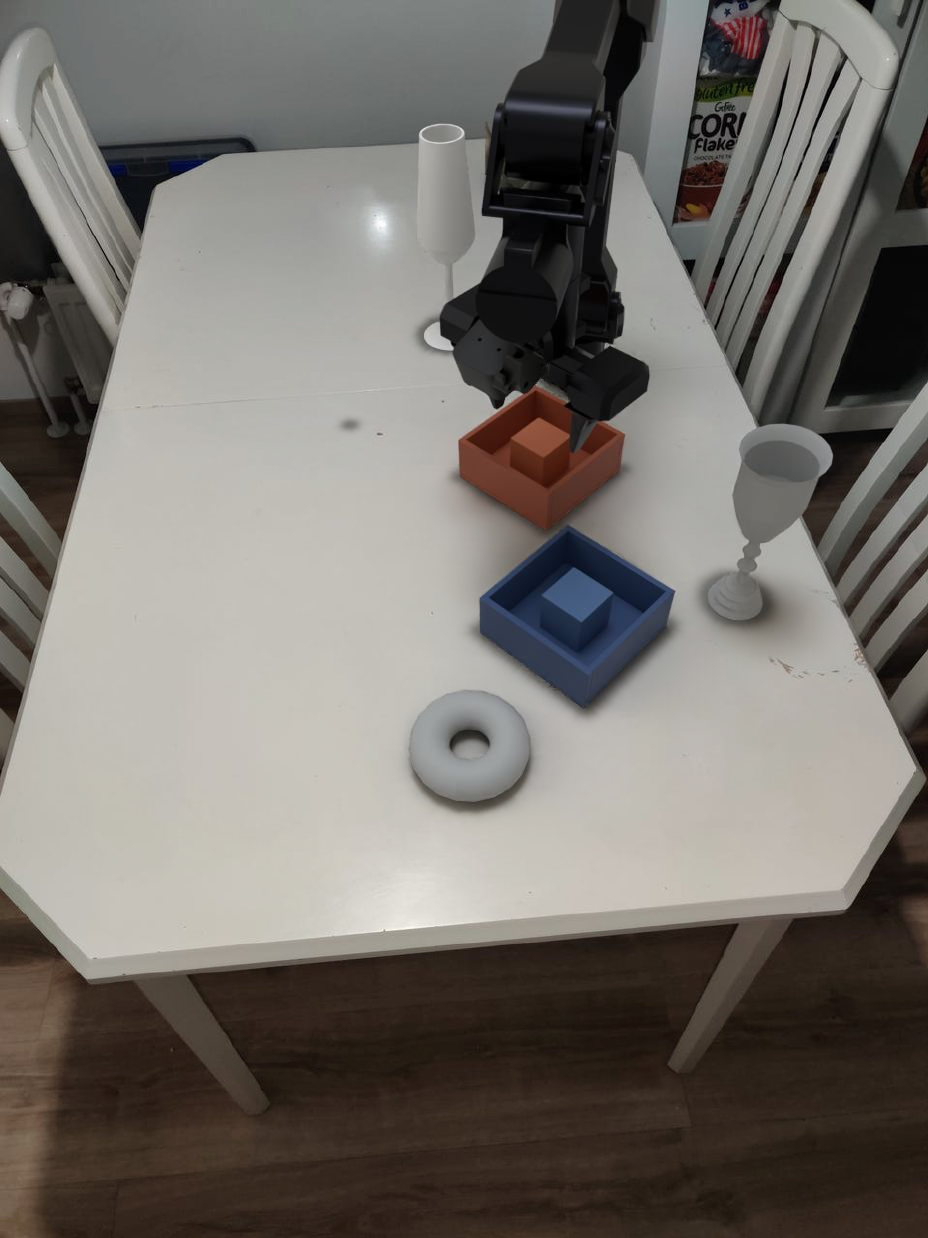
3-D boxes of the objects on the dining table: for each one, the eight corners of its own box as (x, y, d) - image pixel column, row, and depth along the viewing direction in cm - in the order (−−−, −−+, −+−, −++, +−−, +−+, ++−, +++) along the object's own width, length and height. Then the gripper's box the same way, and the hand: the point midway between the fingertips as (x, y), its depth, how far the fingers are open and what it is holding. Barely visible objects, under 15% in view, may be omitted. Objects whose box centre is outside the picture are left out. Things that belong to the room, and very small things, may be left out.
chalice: (726, 639, 79) (777, 494, 65) (681, 589, 83) (720, 442, 68) (789, 609, 81) (852, 462, 67) (743, 561, 85) (793, 413, 70)
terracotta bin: (533, 421, 99) (535, 384, 95) (619, 470, 93) (625, 433, 89) (459, 476, 93) (457, 439, 89) (546, 531, 88) (548, 495, 84)
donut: (521, 699, 76) (406, 708, 75) (523, 677, 73) (404, 686, 72) (537, 804, 69) (412, 814, 69) (540, 784, 67) (410, 794, 66)
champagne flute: (462, 314, 112) (457, 114, 93) (486, 341, 108) (484, 138, 89) (415, 328, 110) (399, 127, 92) (437, 356, 107) (425, 153, 88)
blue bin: (564, 559, 85) (567, 523, 81) (666, 625, 80) (675, 590, 76) (479, 632, 80) (479, 597, 76) (583, 708, 75) (588, 675, 71)
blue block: (570, 598, 82) (573, 566, 78) (608, 623, 80) (613, 592, 76) (539, 626, 80) (541, 594, 76) (577, 653, 78) (581, 622, 74)
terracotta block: (537, 449, 95) (538, 416, 91) (569, 468, 93) (572, 435, 89) (509, 470, 93) (510, 437, 89) (541, 490, 91) (543, 457, 87)
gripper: (385, 267, 68) (401, 426, 80) (571, 363, 59) (558, 524, 72) (482, 214, 73) (483, 371, 85) (667, 295, 64) (639, 457, 77)
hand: (535, 428), depth 79 cm, fingers open, 9 cm apart
